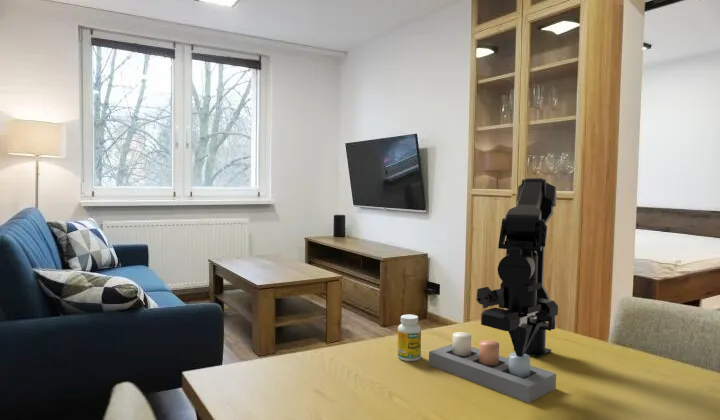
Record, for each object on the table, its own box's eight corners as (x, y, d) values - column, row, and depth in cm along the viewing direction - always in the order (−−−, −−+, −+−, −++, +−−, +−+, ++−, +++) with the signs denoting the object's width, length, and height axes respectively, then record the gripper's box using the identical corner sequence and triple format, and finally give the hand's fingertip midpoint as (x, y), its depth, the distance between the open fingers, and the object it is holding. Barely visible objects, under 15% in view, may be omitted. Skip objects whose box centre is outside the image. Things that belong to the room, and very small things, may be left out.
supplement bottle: (410, 352, 113) (411, 312, 113) (425, 358, 109) (426, 317, 108) (392, 356, 110) (393, 315, 110) (407, 363, 106) (407, 320, 105)
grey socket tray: (457, 354, 111) (457, 342, 111) (555, 388, 93) (556, 373, 93) (428, 364, 105) (429, 351, 105) (528, 403, 87) (529, 386, 86)
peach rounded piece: (486, 357, 102) (486, 338, 101) (502, 362, 99) (503, 343, 98) (475, 361, 99) (475, 342, 99) (491, 366, 96) (491, 347, 96)
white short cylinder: (459, 348, 107) (460, 330, 107) (474, 353, 104) (475, 335, 104) (448, 352, 104) (448, 334, 104) (463, 357, 101) (463, 338, 101)
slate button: (515, 370, 96) (516, 351, 96) (533, 376, 93) (534, 356, 93) (504, 375, 94) (504, 355, 94) (522, 381, 91) (523, 361, 91)
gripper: (511, 266, 105) (509, 336, 106) (458, 276, 93) (456, 355, 94) (560, 274, 96) (558, 349, 97) (509, 286, 84) (507, 372, 85)
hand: (519, 355), depth 93 cm, fingers closed, pressing on slate button
